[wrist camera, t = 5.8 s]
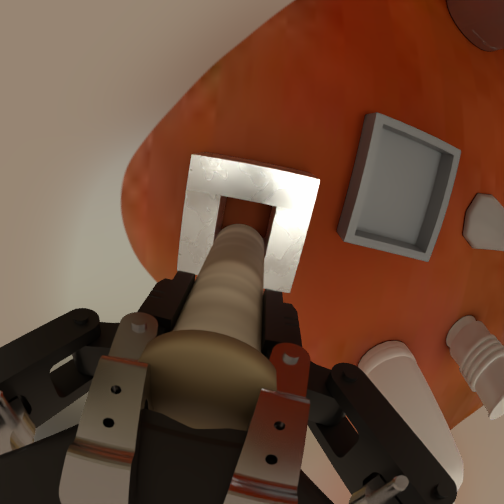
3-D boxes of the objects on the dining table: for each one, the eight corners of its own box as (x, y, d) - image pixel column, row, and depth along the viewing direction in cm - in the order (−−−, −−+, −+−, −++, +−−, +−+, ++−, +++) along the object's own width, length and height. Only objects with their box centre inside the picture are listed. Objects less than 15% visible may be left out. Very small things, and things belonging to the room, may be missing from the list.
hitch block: (204, 151, 25) (191, 154, 21) (310, 172, 26) (320, 179, 21) (190, 249, 29) (176, 270, 24) (286, 268, 29) (289, 293, 25)
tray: (365, 114, 23) (376, 112, 20) (445, 148, 23) (461, 150, 21) (336, 231, 28) (343, 241, 25) (415, 251, 28) (428, 261, 25)
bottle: (412, 364, 34) (481, 539, 6) (364, 387, 36) (408, 571, 8) (403, 329, 32) (496, 537, 4) (349, 356, 34) (402, 580, 6)
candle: (437, 337, 32) (485, 413, 18) (471, 304, 30) (529, 371, 16) (450, 356, 34) (491, 425, 20) (481, 327, 32) (530, 389, 18)
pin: (210, 208, 17) (121, 330, 6) (281, 222, 17) (302, 367, 6) (201, 271, 19) (136, 422, 8) (265, 284, 19) (261, 449, 8)
